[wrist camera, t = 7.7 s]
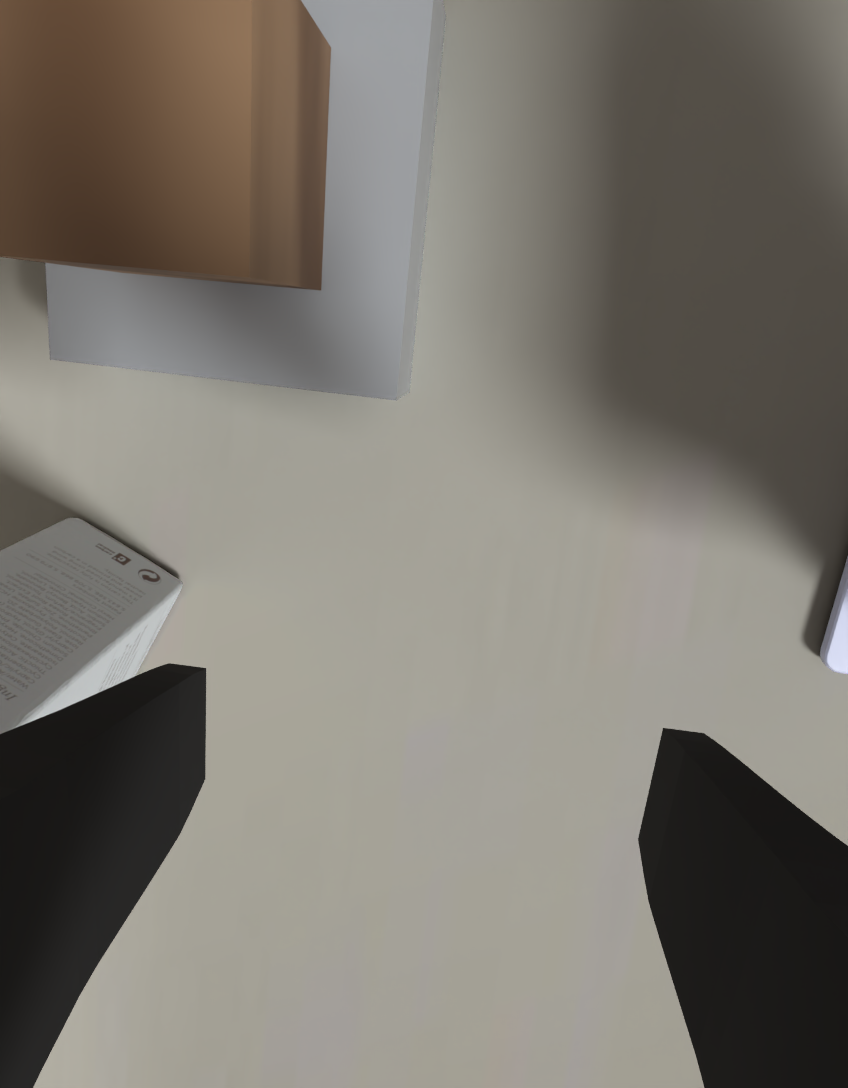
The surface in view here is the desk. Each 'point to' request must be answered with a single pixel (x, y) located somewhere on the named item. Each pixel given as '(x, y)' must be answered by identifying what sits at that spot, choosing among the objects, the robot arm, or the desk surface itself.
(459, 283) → the desk surface
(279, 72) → the walnut cube
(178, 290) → the stoneware block
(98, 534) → the skincare box
